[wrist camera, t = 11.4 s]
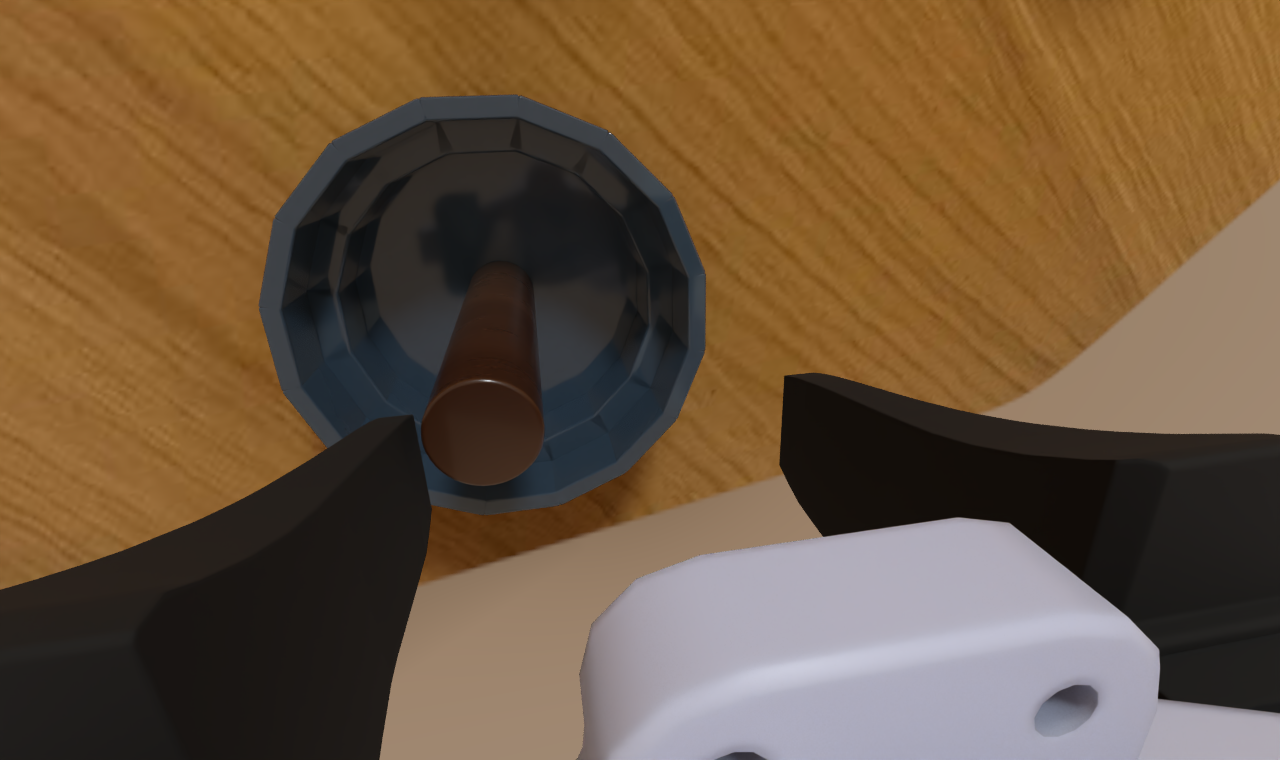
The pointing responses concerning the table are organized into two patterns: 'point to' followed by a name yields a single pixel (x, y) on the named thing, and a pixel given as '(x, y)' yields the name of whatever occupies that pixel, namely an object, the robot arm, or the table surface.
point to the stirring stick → (488, 383)
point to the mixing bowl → (449, 257)
